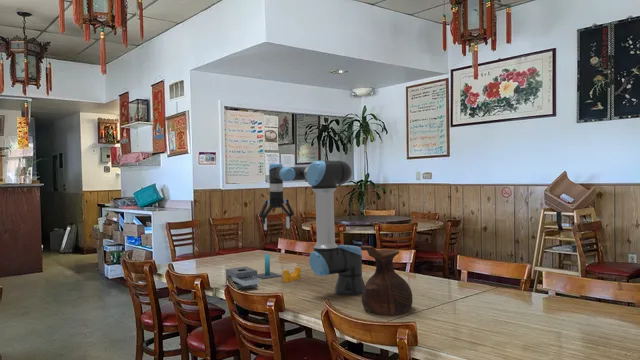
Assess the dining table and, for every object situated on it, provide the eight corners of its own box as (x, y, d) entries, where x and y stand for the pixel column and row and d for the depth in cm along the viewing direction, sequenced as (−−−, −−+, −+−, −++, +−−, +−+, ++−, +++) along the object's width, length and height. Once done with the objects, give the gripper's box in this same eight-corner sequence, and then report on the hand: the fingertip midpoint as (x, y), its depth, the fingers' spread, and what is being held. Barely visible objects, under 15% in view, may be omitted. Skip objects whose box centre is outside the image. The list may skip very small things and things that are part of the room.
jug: (359, 306, 217) (358, 239, 217) (408, 306, 217) (407, 238, 216) (362, 322, 196) (361, 247, 195) (416, 321, 195) (415, 246, 194)
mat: (281, 276, 282) (281, 275, 282) (262, 279, 276) (262, 278, 276) (272, 272, 292) (272, 272, 292) (253, 275, 286) (253, 274, 286)
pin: (271, 275, 283) (270, 254, 283) (266, 275, 282) (266, 255, 282) (268, 274, 286) (268, 253, 286) (264, 275, 284) (263, 254, 284)
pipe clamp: (294, 277, 279) (294, 266, 279) (300, 278, 276) (300, 267, 276) (280, 281, 269) (280, 270, 269) (286, 282, 267) (286, 271, 267)
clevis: (262, 288, 253) (262, 272, 253) (241, 292, 247) (240, 275, 247) (246, 281, 270) (246, 266, 270) (226, 284, 264) (225, 269, 264)
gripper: (294, 190, 282) (294, 226, 283) (252, 191, 271) (253, 229, 272) (299, 190, 276) (299, 228, 276) (257, 192, 264) (257, 231, 265)
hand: (276, 229), depth 274 cm, fingers open, 13 cm apart
